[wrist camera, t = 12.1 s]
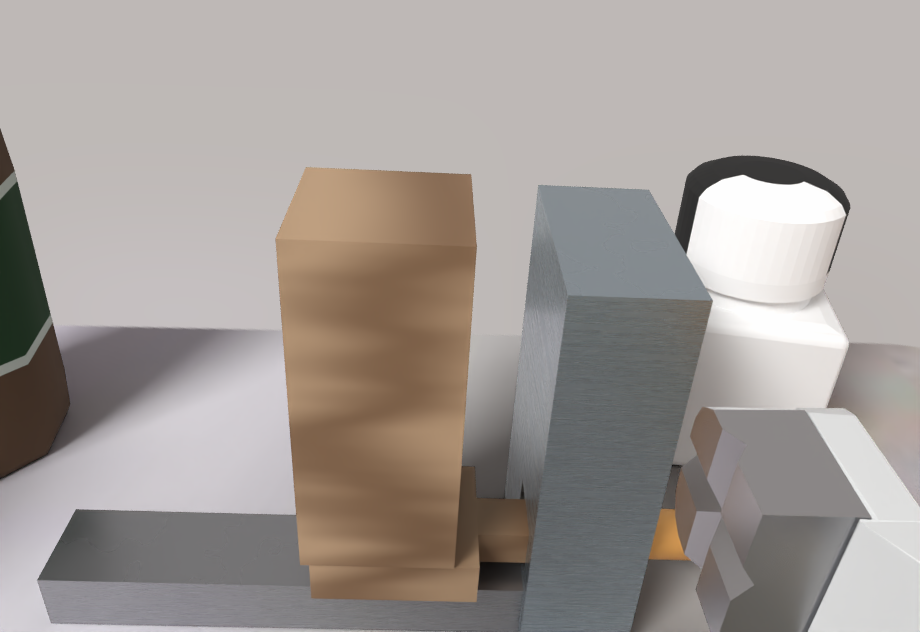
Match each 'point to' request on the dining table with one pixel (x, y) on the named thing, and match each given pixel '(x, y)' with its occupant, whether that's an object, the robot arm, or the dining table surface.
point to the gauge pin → (667, 538)
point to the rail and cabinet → (528, 474)
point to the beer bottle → (25, 339)
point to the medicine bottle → (762, 285)
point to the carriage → (385, 387)
